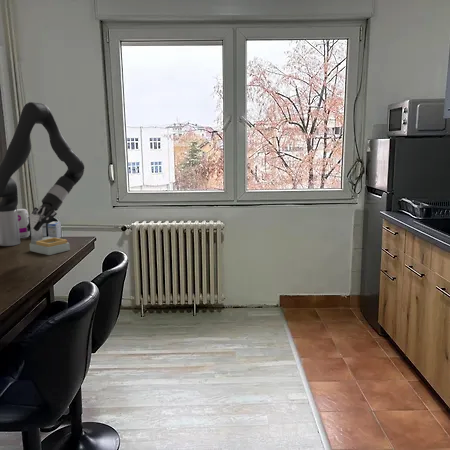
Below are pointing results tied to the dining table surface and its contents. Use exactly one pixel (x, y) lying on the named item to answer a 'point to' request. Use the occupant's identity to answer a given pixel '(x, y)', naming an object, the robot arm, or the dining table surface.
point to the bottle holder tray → (49, 245)
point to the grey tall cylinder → (33, 221)
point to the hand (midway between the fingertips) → (32, 229)
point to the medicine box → (54, 229)
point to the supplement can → (23, 223)
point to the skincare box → (44, 230)
